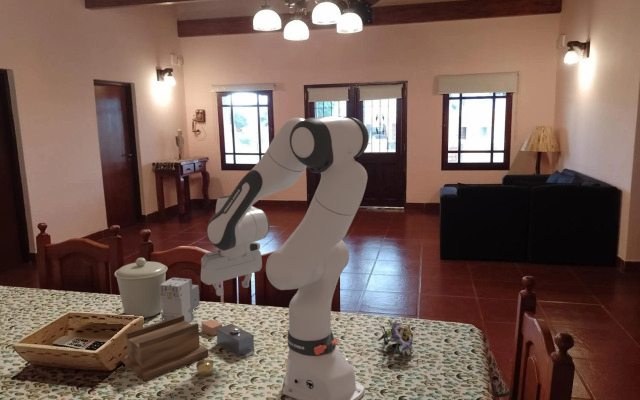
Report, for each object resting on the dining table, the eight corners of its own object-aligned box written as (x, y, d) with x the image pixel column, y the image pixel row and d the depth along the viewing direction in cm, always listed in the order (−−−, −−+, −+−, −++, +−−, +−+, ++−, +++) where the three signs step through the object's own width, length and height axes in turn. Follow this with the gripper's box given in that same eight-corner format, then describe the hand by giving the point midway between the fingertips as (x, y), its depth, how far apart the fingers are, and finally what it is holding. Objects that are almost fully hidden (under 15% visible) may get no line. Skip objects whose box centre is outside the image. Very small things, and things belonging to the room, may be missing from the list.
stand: (208, 355, 144) (207, 326, 143) (144, 381, 130) (142, 348, 129) (182, 338, 155) (180, 311, 154) (120, 360, 142) (118, 330, 140)
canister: (125, 327, 164) (121, 268, 160) (112, 311, 178) (107, 256, 175) (177, 315, 175) (173, 259, 171) (160, 300, 189) (157, 248, 185)
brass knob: (216, 373, 134) (215, 363, 134) (202, 379, 131) (201, 369, 131) (207, 367, 137) (207, 357, 137) (194, 373, 134) (193, 363, 134)
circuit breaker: (202, 312, 177) (200, 273, 174) (181, 328, 163) (178, 286, 161) (184, 310, 179) (182, 272, 176) (162, 326, 165) (159, 284, 163)
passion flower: (406, 371, 145) (408, 352, 137) (372, 358, 149) (372, 339, 140) (416, 339, 152) (419, 319, 144) (383, 328, 156) (384, 308, 147)
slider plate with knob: (257, 352, 146) (257, 333, 145) (242, 358, 142) (242, 339, 141) (228, 336, 157) (227, 319, 156) (214, 341, 153) (213, 324, 152)
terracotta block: (222, 332, 160) (222, 324, 160) (212, 336, 158) (212, 328, 157) (211, 327, 164) (211, 319, 164) (201, 331, 161) (201, 323, 161)
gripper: (207, 256, 135) (209, 302, 137) (264, 243, 149) (265, 285, 152) (195, 252, 139) (197, 297, 142) (252, 239, 154) (253, 280, 156)
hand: (232, 291), depth 147 cm, fingers open, 8 cm apart
